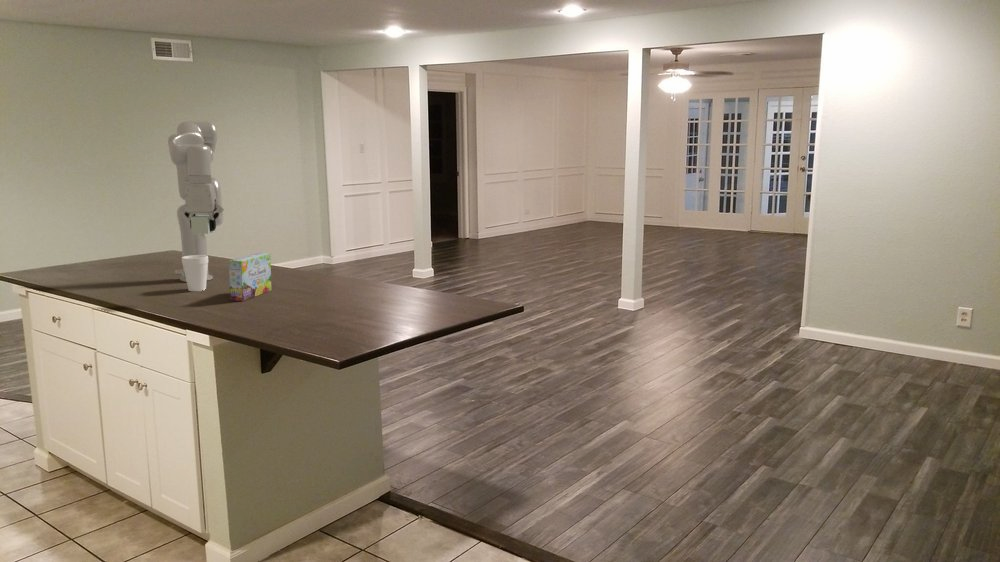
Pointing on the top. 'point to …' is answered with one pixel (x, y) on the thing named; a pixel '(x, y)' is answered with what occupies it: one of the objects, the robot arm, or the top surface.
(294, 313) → the top surface
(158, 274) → the top surface
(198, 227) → the sage block
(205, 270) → the foam cup
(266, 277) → the snack box
